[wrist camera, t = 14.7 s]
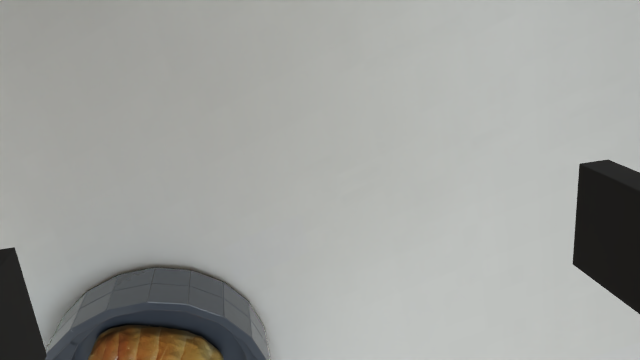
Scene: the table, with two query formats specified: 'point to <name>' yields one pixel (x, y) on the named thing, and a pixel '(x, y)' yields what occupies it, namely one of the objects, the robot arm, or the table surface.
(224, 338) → the bowl
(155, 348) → the pastry
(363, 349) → the table surface
